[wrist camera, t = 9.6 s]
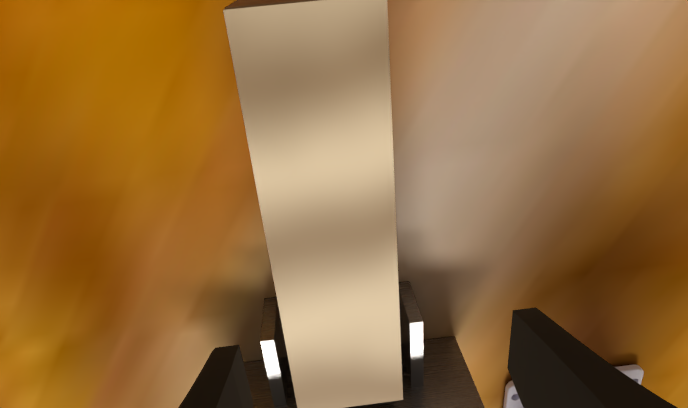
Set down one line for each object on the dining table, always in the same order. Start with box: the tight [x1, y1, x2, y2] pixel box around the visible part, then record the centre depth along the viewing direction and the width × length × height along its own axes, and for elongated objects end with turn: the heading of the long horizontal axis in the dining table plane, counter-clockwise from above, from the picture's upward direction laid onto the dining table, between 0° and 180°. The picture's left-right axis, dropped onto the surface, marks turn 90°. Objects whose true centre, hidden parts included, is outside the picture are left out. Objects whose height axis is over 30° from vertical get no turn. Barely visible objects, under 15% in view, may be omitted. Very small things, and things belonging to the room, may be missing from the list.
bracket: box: [244, 281, 484, 408], centre depth 22 cm, size 5×12×5 cm, turn 95°
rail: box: [223, 0, 403, 408], centre depth 19 cm, size 16×4×5 cm, turn 5°
